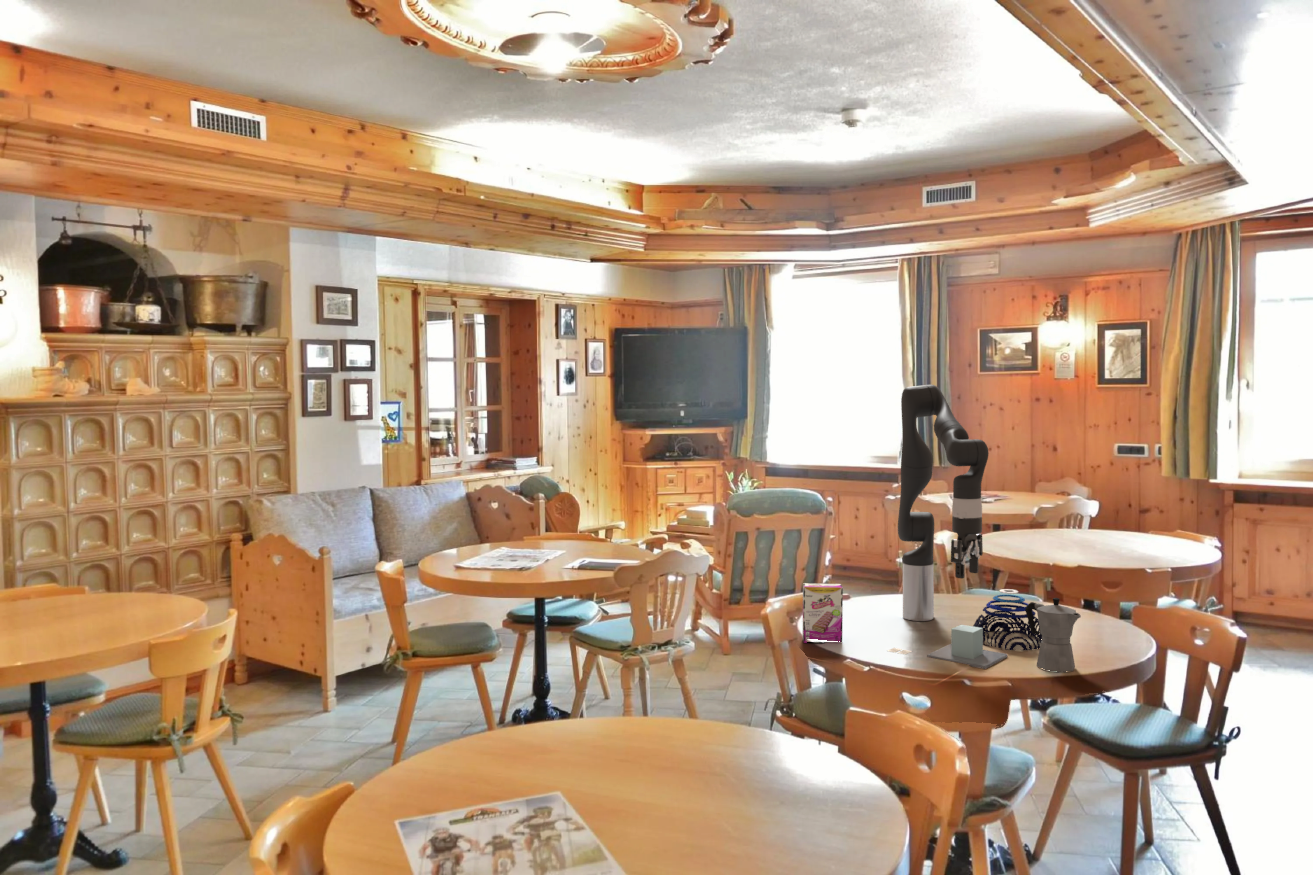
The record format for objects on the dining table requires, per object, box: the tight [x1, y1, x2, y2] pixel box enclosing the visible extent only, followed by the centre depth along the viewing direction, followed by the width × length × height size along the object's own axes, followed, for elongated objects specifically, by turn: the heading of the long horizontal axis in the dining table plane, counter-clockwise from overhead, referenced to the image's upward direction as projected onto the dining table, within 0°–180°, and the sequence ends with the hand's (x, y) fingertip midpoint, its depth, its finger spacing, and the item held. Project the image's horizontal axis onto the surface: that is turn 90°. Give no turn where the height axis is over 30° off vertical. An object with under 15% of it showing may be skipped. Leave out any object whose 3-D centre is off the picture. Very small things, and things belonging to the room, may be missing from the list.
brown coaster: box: [887, 647, 913, 655], centre depth 257 cm, size 14×14×1 cm
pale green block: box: [950, 624, 984, 659], centre depth 251 cm, size 6×6×7 cm
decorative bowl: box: [972, 588, 1042, 651], centre depth 267 cm, size 20×20×14 cm
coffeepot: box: [1024, 597, 1082, 673], centre depth 242 cm, size 15×9×18 cm, turn 33°
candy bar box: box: [802, 582, 844, 644], centre depth 269 cm, size 11×5×16 cm, turn 84°
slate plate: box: [926, 643, 1008, 670], centre depth 251 cm, size 14×16×1 cm
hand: (966, 575), depth 251 cm, fingers open, 8 cm apart
